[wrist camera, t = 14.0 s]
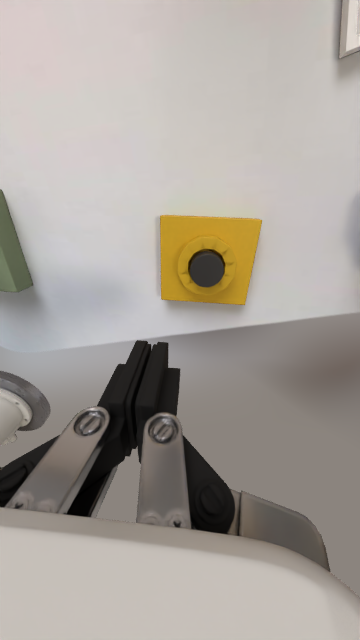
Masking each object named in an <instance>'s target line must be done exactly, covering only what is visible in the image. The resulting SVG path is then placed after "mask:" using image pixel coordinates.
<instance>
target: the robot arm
mask: <svg viewBox="0 0 360 640" xmlns="http://www.w3.org/2000/svg"><path fill="white" fill-rule="evenodd" d="M179 381H180V369H178V368H168V343H165V342H158V343H157V345H156V344H154V345H153V348H152V351H151V344H148V342H147V341H138V340H137V341H136V343H135V345H134V347H133V349H132V351H131V353H130V356H129V358H128V360H127V362H126V364H118V366H117V367H116V369H115V371H114V373H113V375H112V377H111V379H110V381H109V383H108V385H107V387H106V389H105V391H104V393H103V395H102V397H101V399H100V401H99V403H98V405H97V406H93V407H88V408H86V409H83V410H82V411H80V412H79V413H77V414H76V415H75V417H74V418H73V419H72V420H71V421H70V423H69V424H68V425H67V427H66V428H65V429H64V431H63V432H62V433H61V434H60V435H59V436H57V437H55V438H53V439H51V440H50V441H48V442H46V443H44V444H42V445H41V446H39V447H37V448H35V449H34V450H32V451H30V452H28V453H26V454H25V455H23V456H21V457H19V458H18V459H16V460H14V461H12V462H11V463H9V464H8V465H6V466H5V467H0V640H360V597H359V596H358V595H357V594H355V592H354V591H353V590H351V589H350V588H349V587H348V586H347V585H346V584H344V583H343V582H342V581H341V580H340V579H338V578H337V577H336V576H335V575H333V574H332V573H330V568H329V563H328V558H327V553H326V548H325V545H324V542H323V539H322V536H321V534H320V533H319V532H318V530H317V528H316V526H315V525H314V524H313V523H312V522H311V521H310V520H309V519H308V518H307V517H306V516H304V515H302V514H300V513H299V512H296V511H294V510H291V509H288V508H286V507H283V506H280V505H278V504H275V503H273V502H270V501H268V500H265V499H262V498H260V497H257V496H255V495H252V494H249V493H247V492H244V491H241V493H240V492H237V491H234V490H232V489H229V487H228V486H227V484H226V483H224V481H223V480H222V479H221V478H220V476H218V474H217V473H216V472H215V471H214V470H213V468H212V467H211V466H210V465H209V464H208V463H207V462H206V461H205V460H204V458H203V457H202V456H201V455H200V454H199V453H198V452H197V450H196V449H195V448H194V447H193V446H192V445H191V444H190V442H189V441H188V440H187V439H186V438H185V437H184V436H183V434H182V426H181V423H180V421H179V419H178V418H177V417H176V415H177V405H178V394H179ZM32 417H33V413H32V410H31V408H30V406H29V405H28V403H27V402H26V401H25V400H23V399H22V398H21V397H19V396H18V395H16V394H15V393H13V392H11V391H8V390H6V389H3V388H0V446H1V445H6V444H7V443H8V442H14V441H16V440H17V436H16V434H14V433H15V432H16V430H17V429H18V428H19V427H23V426H25V425H27V424H28V423H29V422H30V421H31V419H32ZM137 446H138V455H139V462H140V464H141V470H140V482H139V494H138V495H139V496H138V506H137V518H136V523H133V522H125V521H116V520H108V519H99V518H96V516H97V513H98V511H99V509H100V507H101V504H102V502H103V500H104V498H105V495H106V493H107V491H108V489H109V487H110V484H111V482H112V480H113V478H114V475H115V473H116V471H117V467H118V464H120V463H121V462H122V461H123V460H124V459H125V456H130V454H131V451H132V449H136V447H137Z"/></svg>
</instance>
